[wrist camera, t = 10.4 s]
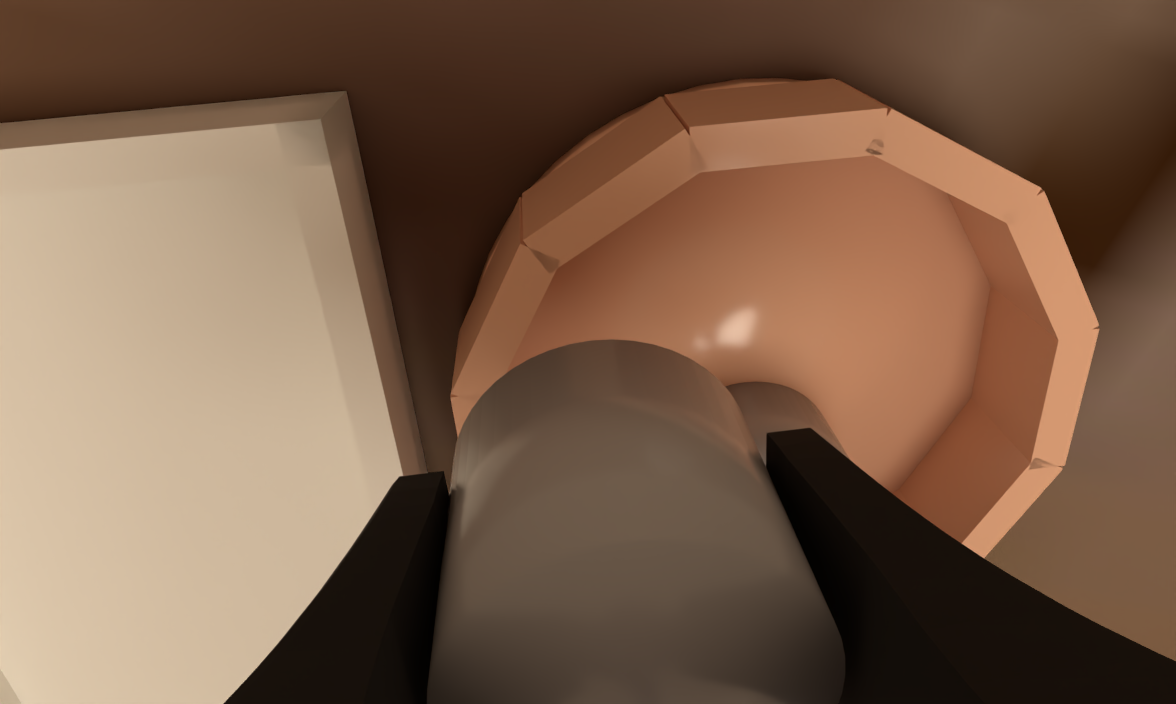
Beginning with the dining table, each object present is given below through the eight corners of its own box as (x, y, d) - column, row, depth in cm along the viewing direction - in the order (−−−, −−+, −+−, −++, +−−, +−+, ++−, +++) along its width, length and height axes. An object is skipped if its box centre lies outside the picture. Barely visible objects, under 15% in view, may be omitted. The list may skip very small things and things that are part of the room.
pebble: (749, 564, 13) (834, 801, 10) (477, 598, 13) (463, 849, 10) (751, 322, 11) (860, 513, 8) (427, 359, 11) (386, 571, 8)
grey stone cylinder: (824, 514, 22) (884, 631, 18) (660, 534, 22) (689, 656, 18) (835, 372, 20) (906, 472, 16) (653, 392, 20) (684, 499, 16)
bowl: (959, 527, 23) (1025, 621, 20) (505, 578, 23) (503, 682, 20) (1046, 49, 17) (1161, 81, 14) (425, 108, 17) (404, 154, 14)
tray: (474, 692, 25) (470, 767, 23) (44, 743, 25) (-1, 824, 23) (346, 90, 16) (320, 119, 14) (-319, 153, 16) (-450, 192, 14)
